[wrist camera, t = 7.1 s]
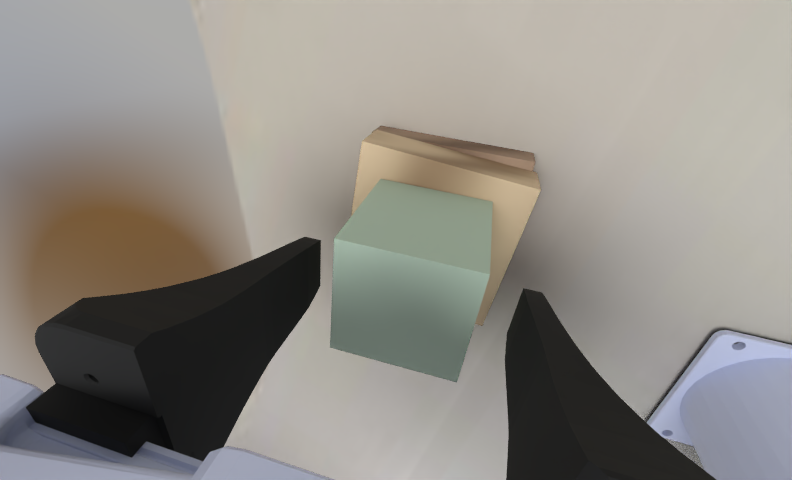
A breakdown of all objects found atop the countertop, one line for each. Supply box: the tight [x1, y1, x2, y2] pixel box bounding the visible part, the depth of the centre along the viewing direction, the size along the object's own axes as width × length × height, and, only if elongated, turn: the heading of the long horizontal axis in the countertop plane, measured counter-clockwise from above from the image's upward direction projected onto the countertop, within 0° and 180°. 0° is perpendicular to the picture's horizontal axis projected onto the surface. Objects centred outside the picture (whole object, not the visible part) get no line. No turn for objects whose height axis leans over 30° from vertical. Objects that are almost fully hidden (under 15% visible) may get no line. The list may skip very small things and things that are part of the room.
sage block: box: [330, 179, 493, 382], centre depth 14 cm, size 4×4×5 cm
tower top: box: [351, 130, 541, 326], centre depth 17 cm, size 7×7×2 cm
